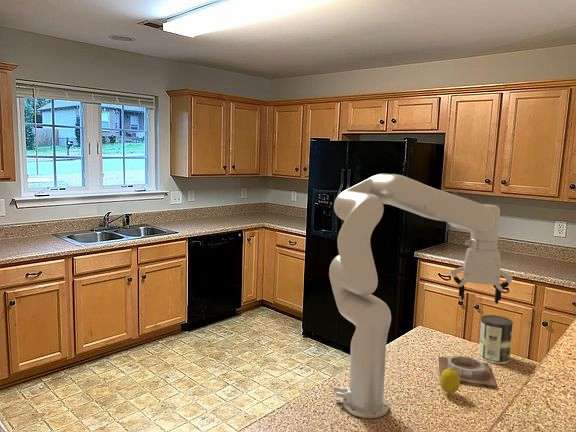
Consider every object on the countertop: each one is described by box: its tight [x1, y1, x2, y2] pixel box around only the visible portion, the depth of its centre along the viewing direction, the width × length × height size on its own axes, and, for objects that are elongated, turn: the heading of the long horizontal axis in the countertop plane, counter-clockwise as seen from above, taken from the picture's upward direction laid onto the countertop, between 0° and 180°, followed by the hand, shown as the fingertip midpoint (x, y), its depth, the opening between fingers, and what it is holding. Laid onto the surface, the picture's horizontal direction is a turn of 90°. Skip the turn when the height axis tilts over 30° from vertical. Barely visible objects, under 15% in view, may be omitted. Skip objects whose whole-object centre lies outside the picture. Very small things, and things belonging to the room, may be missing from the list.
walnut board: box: [437, 356, 497, 390], centre depth 146 cm, size 16×16×1 cm
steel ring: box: [447, 354, 485, 378], centre depth 146 cm, size 11×11×2 cm
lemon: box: [439, 368, 461, 395], centre depth 132 cm, size 6×6×8 cm
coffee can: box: [478, 314, 514, 365], centre depth 157 cm, size 10×10×14 cm
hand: (479, 300), depth 136 cm, fingers open, 9 cm apart
